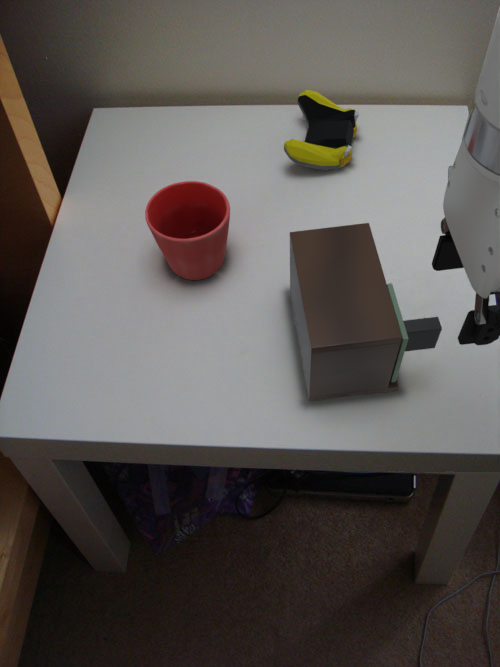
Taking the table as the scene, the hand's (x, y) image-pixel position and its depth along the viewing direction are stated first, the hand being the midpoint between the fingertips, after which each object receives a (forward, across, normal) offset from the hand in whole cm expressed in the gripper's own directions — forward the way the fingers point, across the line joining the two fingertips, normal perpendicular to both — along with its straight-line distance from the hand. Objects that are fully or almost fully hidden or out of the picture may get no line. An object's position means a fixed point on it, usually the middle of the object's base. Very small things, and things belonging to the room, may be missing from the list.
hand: (462, 300), depth 51 cm
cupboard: (+22, +11, +7) cm, 25 cm away
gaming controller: (+22, +47, +3) cm, 52 cm away
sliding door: (+20, +7, 0) cm, 22 cm away
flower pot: (+22, +27, +24) cm, 42 cm away
